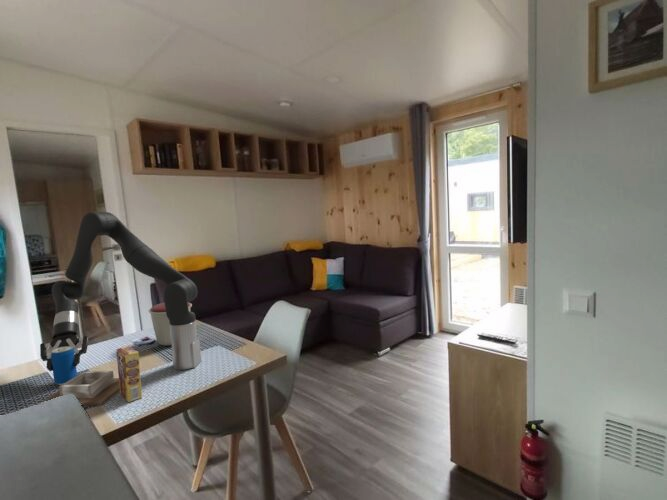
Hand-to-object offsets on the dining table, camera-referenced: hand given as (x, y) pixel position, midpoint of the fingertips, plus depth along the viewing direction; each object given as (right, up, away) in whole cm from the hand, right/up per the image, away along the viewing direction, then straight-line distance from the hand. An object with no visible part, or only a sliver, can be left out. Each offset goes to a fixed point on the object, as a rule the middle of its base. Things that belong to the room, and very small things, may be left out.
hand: (63, 367), depth 119 cm
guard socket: (+13, -6, -6) cm, 16 cm away
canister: (+20, -2, +39) cm, 44 cm away
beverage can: (-1, -6, +2) cm, 6 cm away
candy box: (+29, -6, -9) cm, 31 cm away
